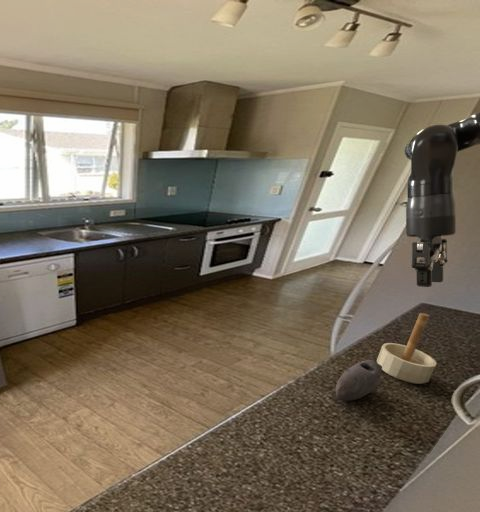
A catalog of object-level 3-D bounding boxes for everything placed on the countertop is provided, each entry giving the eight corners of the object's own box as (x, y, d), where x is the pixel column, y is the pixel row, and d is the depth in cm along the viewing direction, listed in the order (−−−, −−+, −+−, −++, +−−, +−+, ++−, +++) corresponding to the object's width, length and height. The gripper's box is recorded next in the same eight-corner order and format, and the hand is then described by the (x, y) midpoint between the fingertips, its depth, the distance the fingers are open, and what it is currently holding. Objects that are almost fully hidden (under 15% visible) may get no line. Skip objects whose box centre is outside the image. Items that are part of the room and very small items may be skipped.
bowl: (421, 369, 76) (429, 351, 74) (433, 391, 69) (442, 372, 67) (373, 355, 81) (379, 338, 80) (379, 374, 74) (386, 356, 72)
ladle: (405, 367, 75) (427, 313, 70) (407, 372, 73) (430, 317, 69) (384, 361, 77) (405, 308, 72) (386, 366, 76) (407, 312, 71)
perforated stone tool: (347, 411, 62) (356, 386, 60) (321, 394, 67) (329, 370, 65) (383, 391, 68) (392, 367, 66) (356, 377, 73) (365, 354, 71)
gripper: (445, 214, 60) (445, 290, 61) (463, 213, 67) (463, 281, 68) (395, 218, 67) (396, 286, 67) (416, 216, 73) (417, 279, 74)
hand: (430, 284), depth 67 cm, fingers open, 8 cm apart
